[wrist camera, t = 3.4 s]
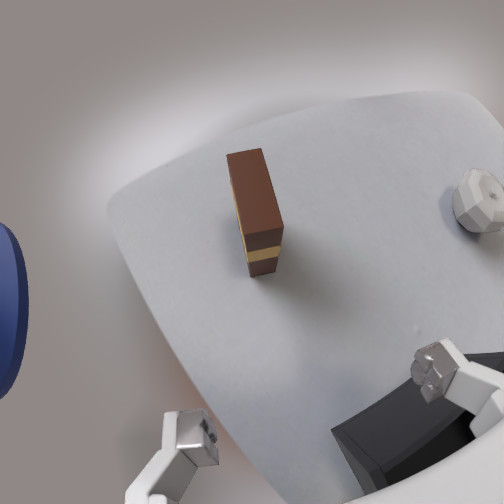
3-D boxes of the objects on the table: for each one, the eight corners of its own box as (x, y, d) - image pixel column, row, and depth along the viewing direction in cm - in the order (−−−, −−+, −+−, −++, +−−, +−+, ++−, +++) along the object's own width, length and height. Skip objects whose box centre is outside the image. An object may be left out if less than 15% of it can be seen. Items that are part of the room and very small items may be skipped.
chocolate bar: (250, 278, 28) (243, 236, 17) (237, 219, 29) (225, 153, 19) (276, 272, 28) (285, 227, 17) (261, 214, 30) (261, 146, 19)
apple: (438, 231, 28) (470, 206, 22) (441, 177, 31) (466, 149, 24) (485, 254, 27) (518, 235, 21) (485, 201, 30) (513, 178, 23)
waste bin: (376, 514, 19) (415, 563, 9) (330, 429, 23) (368, 472, 13) (471, 443, 21) (531, 461, 10) (440, 354, 24) (510, 350, 14)
